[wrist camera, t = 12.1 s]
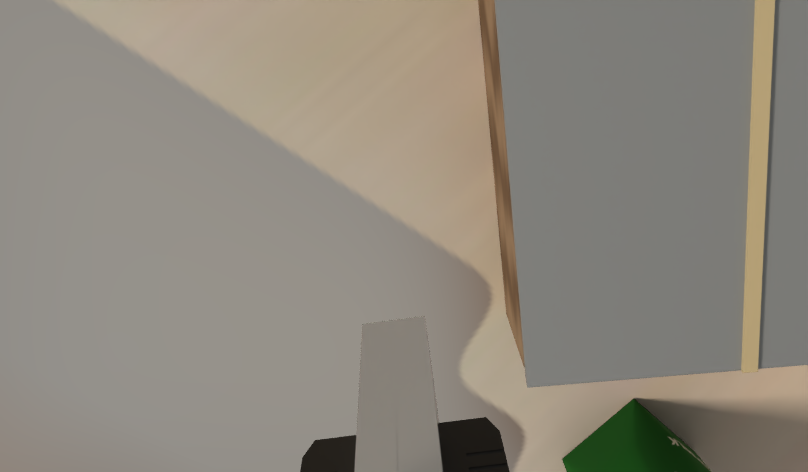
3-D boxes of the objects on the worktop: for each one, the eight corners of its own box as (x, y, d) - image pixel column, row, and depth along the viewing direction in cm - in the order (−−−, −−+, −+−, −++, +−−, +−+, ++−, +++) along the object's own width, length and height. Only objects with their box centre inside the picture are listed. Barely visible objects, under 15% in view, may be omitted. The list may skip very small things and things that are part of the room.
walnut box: (476, -22, 44) (492, -16, 37) (752, -60, 44) (817, -61, 37) (506, 314, 52) (524, 367, 45) (740, 284, 52) (792, 333, 45)
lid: (492, -27, 37) (494, -25, 36) (846, -74, 36) (863, -75, 34) (525, 376, 45) (527, 390, 44) (814, 352, 44) (826, 366, 42)
